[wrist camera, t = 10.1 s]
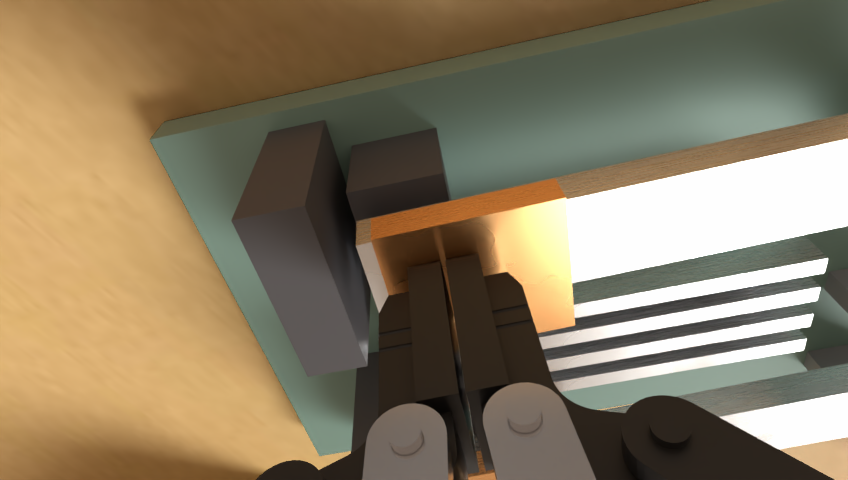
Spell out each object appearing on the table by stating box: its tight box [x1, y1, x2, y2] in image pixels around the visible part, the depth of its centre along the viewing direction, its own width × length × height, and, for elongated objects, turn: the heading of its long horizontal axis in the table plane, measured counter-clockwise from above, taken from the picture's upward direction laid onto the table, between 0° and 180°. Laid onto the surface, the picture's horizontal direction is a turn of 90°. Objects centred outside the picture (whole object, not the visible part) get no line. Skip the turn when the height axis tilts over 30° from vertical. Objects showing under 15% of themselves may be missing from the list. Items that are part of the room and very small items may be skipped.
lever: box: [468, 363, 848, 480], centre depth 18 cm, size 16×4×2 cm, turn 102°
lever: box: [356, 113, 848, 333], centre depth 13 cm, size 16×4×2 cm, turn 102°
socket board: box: [150, 0, 848, 456], centre depth 17 cm, size 24×15×6 cm, turn 102°
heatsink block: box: [378, 235, 828, 408], centre depth 17 cm, size 12×4×3 cm, turn 102°
